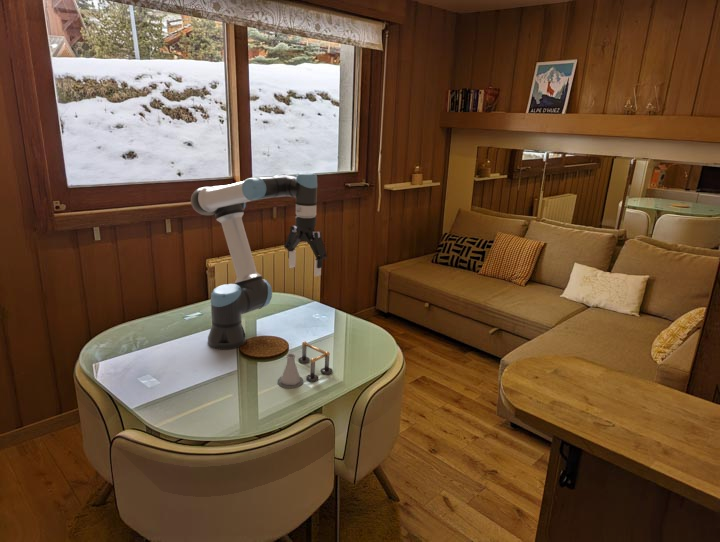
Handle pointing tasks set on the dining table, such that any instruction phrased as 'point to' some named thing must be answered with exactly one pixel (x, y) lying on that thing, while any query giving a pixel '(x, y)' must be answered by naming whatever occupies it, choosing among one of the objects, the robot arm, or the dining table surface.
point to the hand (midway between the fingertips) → (304, 271)
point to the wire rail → (304, 359)
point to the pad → (290, 385)
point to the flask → (290, 372)
